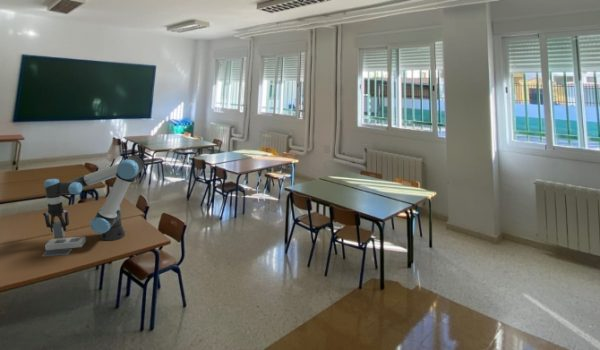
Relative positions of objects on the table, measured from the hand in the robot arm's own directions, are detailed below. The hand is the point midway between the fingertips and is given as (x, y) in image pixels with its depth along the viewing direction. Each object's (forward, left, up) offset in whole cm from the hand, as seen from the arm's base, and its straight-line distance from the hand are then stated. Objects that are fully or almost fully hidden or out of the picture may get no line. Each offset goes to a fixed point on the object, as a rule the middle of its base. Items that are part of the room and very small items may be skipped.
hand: (59, 235), depth 207 cm
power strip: (-3, 0, -7) cm, 8 cm away
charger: (0, 0, -1) cm, 1 cm away
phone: (-1, +10, -8) cm, 13 cm away
